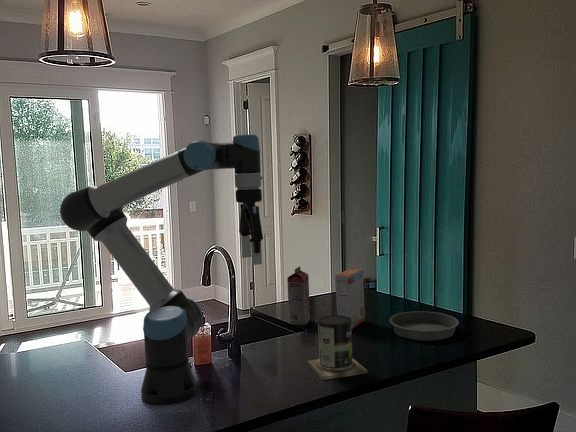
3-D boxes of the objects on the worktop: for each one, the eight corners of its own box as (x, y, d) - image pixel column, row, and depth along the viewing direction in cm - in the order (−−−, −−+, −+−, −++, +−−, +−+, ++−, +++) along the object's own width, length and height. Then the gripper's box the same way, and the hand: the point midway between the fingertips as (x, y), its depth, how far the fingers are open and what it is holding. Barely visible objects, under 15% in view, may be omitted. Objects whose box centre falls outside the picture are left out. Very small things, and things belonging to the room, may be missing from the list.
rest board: (322, 380, 158) (322, 376, 158) (307, 363, 172) (307, 360, 172) (367, 373, 162) (367, 369, 162) (348, 357, 176) (348, 354, 176)
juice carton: (289, 324, 216) (286, 269, 214) (294, 319, 222) (292, 265, 220) (305, 325, 214) (303, 269, 212) (310, 320, 220) (308, 266, 218)
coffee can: (354, 359, 171) (353, 315, 170) (351, 371, 161) (350, 324, 160) (321, 358, 173) (320, 314, 172) (316, 370, 163) (315, 323, 162)
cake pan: (389, 342, 190) (389, 329, 190) (389, 322, 214) (389, 310, 214) (463, 343, 186) (463, 330, 186) (454, 322, 210) (454, 311, 210)
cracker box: (351, 319, 219) (349, 267, 217) (365, 321, 216) (364, 268, 214) (336, 329, 207) (334, 274, 205) (350, 331, 204) (349, 275, 202)
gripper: (271, 189, 148) (275, 266, 150) (251, 186, 172) (254, 253, 174) (244, 190, 146) (248, 268, 148) (227, 187, 170) (231, 255, 172)
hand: (251, 260), depth 161 cm, fingers open, 13 cm apart
